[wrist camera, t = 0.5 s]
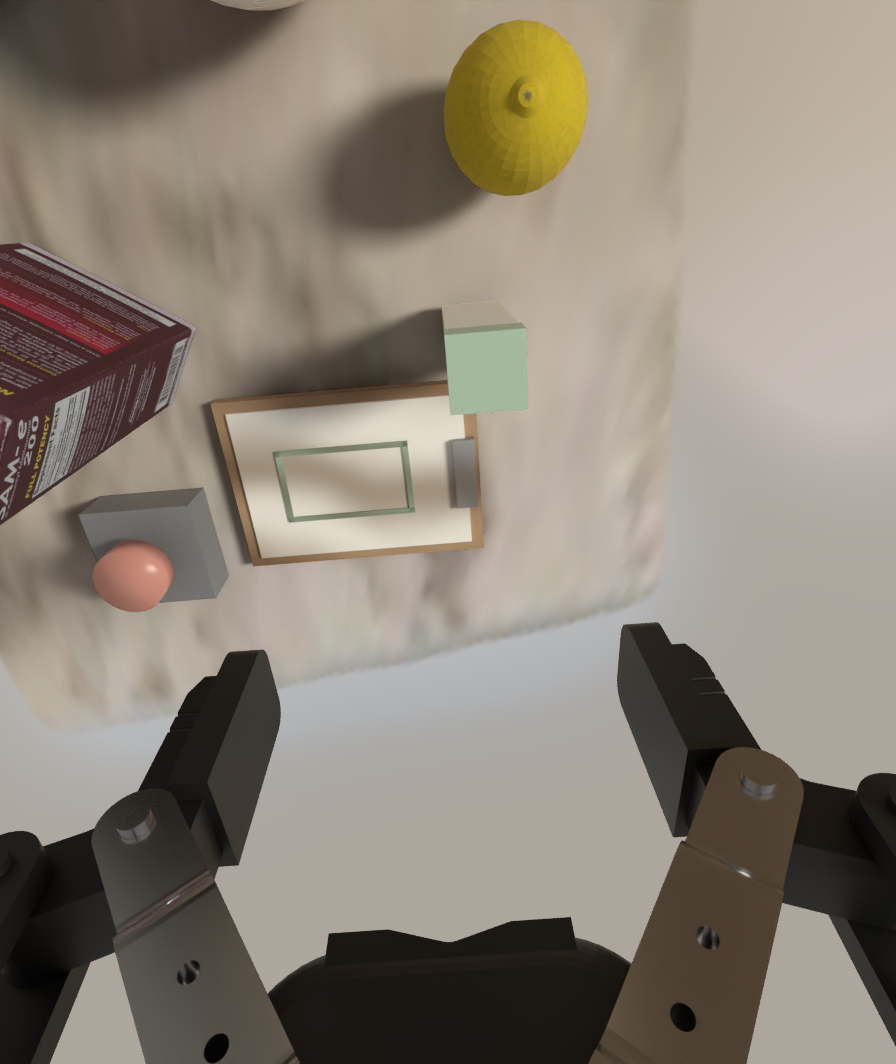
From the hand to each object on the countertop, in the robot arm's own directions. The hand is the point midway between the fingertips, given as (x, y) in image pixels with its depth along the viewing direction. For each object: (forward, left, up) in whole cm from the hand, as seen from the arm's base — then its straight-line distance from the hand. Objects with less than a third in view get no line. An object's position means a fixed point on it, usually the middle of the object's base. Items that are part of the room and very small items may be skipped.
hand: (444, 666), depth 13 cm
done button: (+7, -17, -18) cm, 25 cm away
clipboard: (+4, -5, -22) cm, 22 cm away
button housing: (+7, -17, -22) cm, 28 cm away
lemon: (-12, +4, -22) cm, 25 cm away
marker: (-4, +2, -22) cm, 22 cm away
